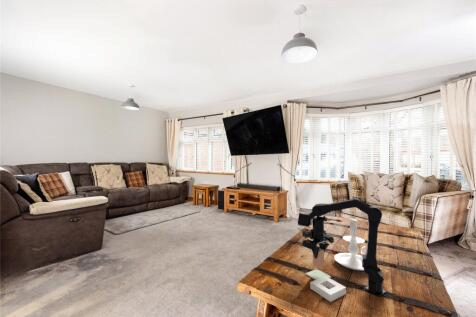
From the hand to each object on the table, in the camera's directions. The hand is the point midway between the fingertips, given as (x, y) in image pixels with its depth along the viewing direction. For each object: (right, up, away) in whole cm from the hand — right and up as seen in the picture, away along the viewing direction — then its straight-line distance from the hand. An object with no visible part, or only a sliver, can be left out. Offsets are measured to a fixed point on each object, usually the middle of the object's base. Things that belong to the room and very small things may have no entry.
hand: (318, 257), depth 111 cm
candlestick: (+27, -10, +12) cm, 31 cm away
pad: (0, -10, 0) cm, 10 cm away
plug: (0, -5, 0) cm, 5 cm away
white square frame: (-1, -10, -13) cm, 16 cm away
